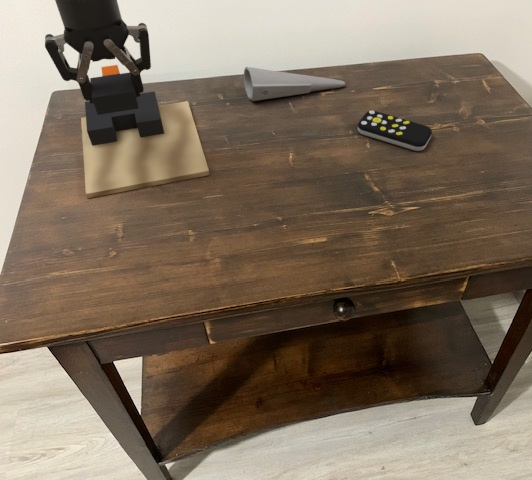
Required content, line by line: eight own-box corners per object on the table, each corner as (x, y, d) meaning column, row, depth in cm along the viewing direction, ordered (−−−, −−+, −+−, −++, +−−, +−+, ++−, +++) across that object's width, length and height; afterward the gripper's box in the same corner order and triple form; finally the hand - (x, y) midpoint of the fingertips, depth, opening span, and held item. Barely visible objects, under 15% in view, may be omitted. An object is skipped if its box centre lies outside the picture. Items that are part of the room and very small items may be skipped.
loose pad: (97, 115, 79) (91, 97, 77) (94, 85, 84) (89, 68, 82) (138, 108, 80) (134, 91, 78) (133, 80, 86) (129, 63, 84)
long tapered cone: (337, 54, 106) (244, 60, 100) (349, 73, 103) (253, 81, 96) (332, 78, 111) (242, 85, 104) (343, 98, 107) (251, 106, 101)
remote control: (422, 154, 92) (423, 145, 90) (354, 133, 95) (355, 124, 94) (432, 135, 96) (435, 126, 94) (367, 116, 99) (368, 106, 98)
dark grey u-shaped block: (92, 145, 89) (86, 131, 87) (89, 116, 95) (84, 101, 93) (164, 133, 92) (161, 119, 90) (157, 105, 98) (154, 91, 96)
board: (87, 198, 82) (85, 193, 81) (82, 122, 95) (80, 117, 95) (209, 175, 87) (208, 170, 86) (188, 105, 100) (187, 100, 99)
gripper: (20, 3, 65) (66, 119, 77) (141, -10, 68) (166, 103, 80) (23, -22, 69) (65, 92, 82) (136, -33, 73) (160, 78, 85)
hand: (115, 97), depth 81 cm, fingers closed on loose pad, 6 cm apart
